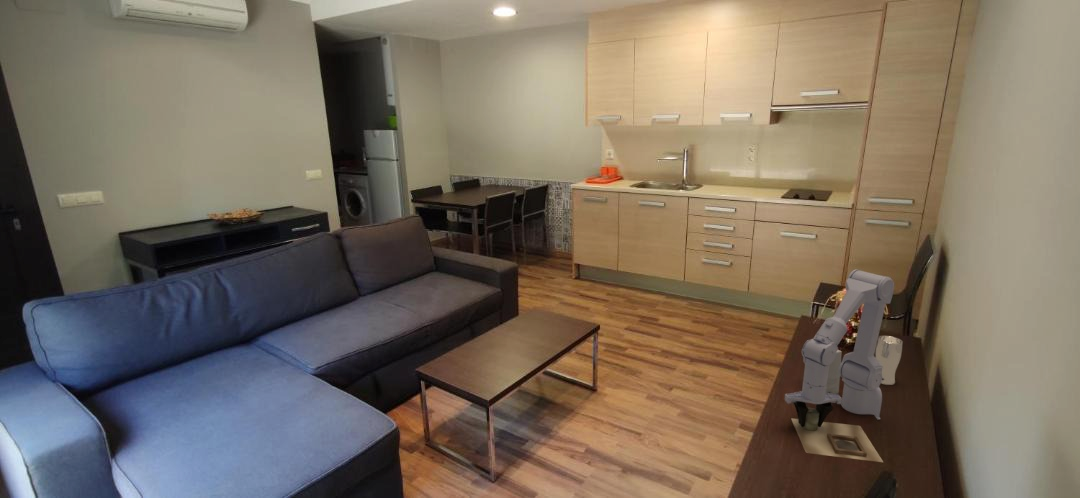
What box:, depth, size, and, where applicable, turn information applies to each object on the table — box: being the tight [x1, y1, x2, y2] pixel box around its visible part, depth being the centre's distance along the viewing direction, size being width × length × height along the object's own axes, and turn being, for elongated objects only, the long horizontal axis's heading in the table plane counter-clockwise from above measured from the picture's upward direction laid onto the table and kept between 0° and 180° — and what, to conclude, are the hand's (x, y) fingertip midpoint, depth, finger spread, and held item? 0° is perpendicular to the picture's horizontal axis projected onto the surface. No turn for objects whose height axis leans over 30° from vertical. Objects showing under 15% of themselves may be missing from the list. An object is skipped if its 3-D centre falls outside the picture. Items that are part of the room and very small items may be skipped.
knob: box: [803, 406, 819, 431], centre depth 139 cm, size 4×4×5 cm
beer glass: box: [875, 335, 904, 386], centre depth 163 cm, size 7×7×15 cm
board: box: [790, 418, 884, 463], centre depth 134 cm, size 18×16×2 cm
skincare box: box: [826, 349, 843, 395], centre depth 159 cm, size 8×6×15 cm
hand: (809, 424), depth 139 cm, fingers closed on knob, 4 cm apart
